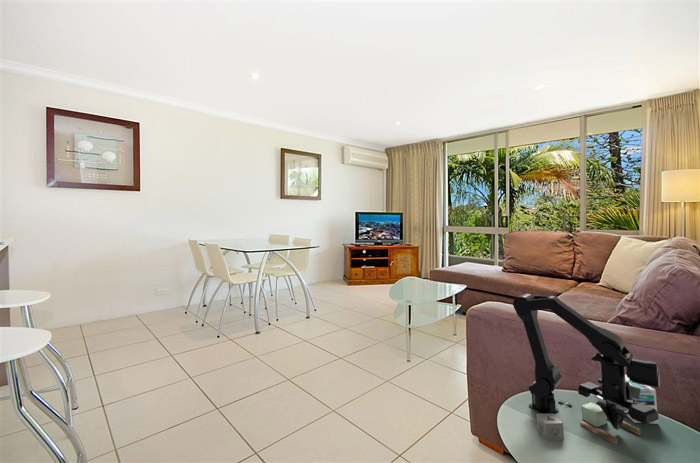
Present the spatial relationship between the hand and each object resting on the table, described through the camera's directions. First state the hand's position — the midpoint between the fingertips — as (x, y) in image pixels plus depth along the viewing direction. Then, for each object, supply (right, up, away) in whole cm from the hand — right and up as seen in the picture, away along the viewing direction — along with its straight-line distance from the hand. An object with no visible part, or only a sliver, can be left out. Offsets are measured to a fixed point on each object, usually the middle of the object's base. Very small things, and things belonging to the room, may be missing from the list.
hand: (616, 429), depth 95 cm
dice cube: (-19, -3, +2) cm, 19 cm away
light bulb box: (+13, -1, +8) cm, 15 cm away
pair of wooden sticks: (-1, -1, +2) cm, 2 cm away
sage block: (-2, -1, +6) cm, 7 cm away
